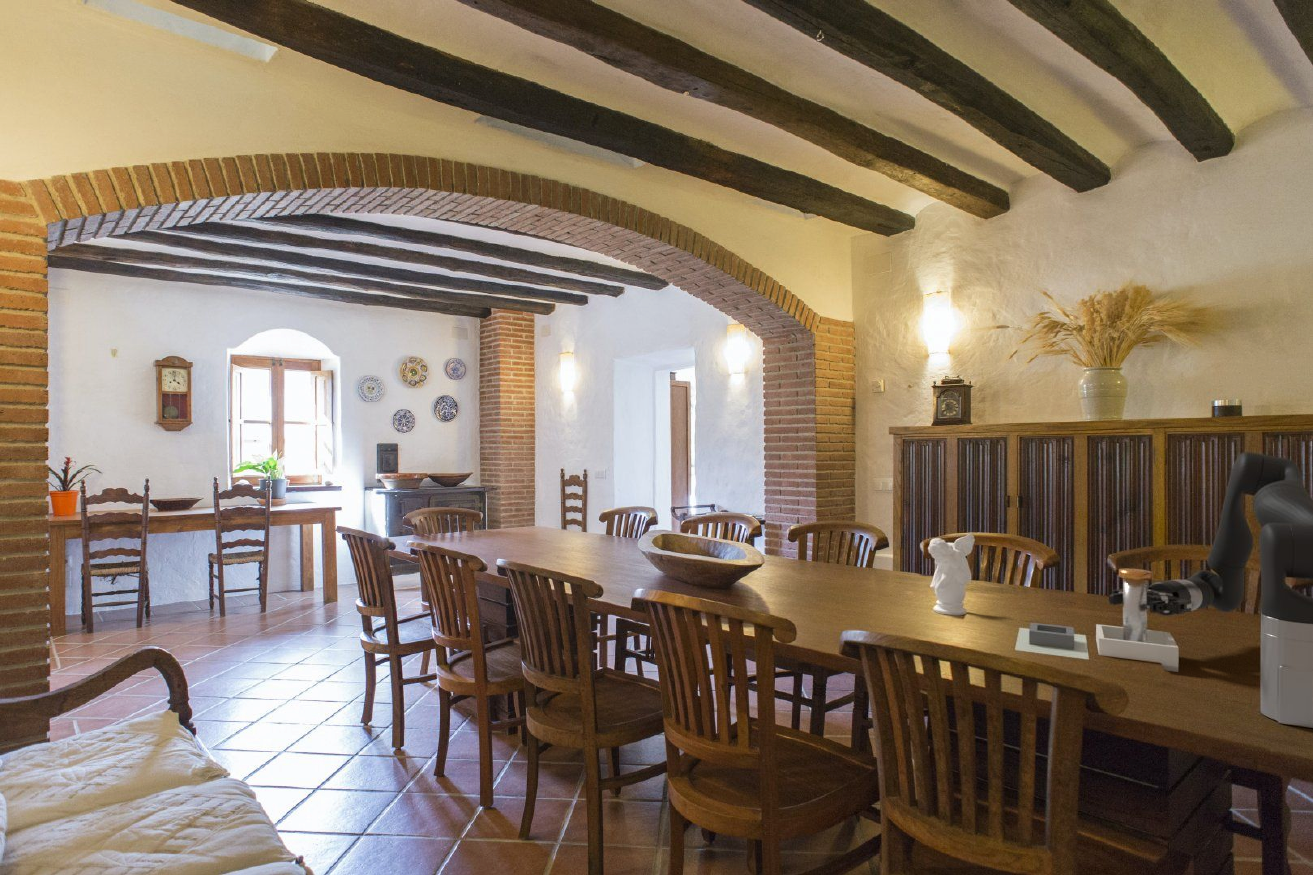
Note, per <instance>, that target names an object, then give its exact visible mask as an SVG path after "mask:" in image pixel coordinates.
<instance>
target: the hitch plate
mask: <svg viewBox="0 0 1313 875" xmlns="http://www.w3.org/2000/svg"><path fill="white" fill-rule="evenodd" d="M1088 649H1089V648H1088V643H1087V635H1085V634H1079V633H1075V629H1074V627H1073V626H1067V625H1066V626H1064V625H1057V624H1046V623H1038V622H1030V624H1029V628H1025V627H1019V628H1018V634H1017V638H1016V644H1015V648H1014V651H1018V652H1020V651H1021V652H1026V653H1027V652H1028V653H1035V654H1040V655H1041V654H1043V655H1049V656H1058V657H1065V658H1073V659H1083V660H1090V658H1089V657H1090V656H1089V650H1088Z"/></svg>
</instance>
